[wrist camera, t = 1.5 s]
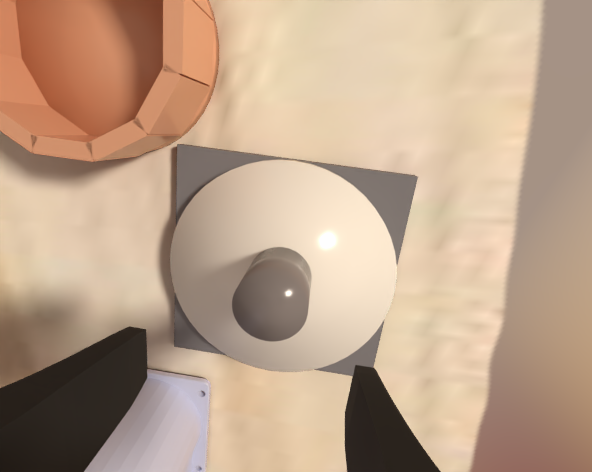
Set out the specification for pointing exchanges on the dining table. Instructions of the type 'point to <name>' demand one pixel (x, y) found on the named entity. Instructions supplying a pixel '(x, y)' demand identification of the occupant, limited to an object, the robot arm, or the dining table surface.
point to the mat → (372, 183)
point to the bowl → (104, 74)
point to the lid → (283, 265)
